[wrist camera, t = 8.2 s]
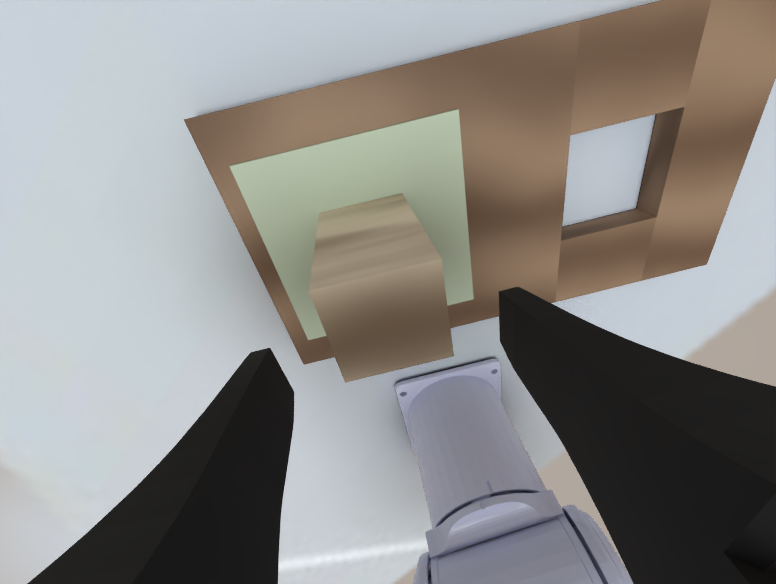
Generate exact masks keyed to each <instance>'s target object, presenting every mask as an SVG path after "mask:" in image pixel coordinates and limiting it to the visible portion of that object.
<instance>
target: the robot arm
mask: <svg viewBox="0 0 776 584" xmlns="http://www.w3.org/2000/svg"><path fill="white" fill-rule="evenodd" d="M499 322H500V342H501V344H502V346H503V348H504V350H505V352H506V354H507V357H508V359H509V360H510V362H511V364H512V366H513V368H514V370H515V371H516V373H517V375H518V376H519V378H520V379H521V381H522V382H523V384H524V385H525V387H526V388H527V390H528V391H529V393H530V394H531V396H532V397H533V399H534V400H535V402H536V403H537V405H538V406H539V408H540V409H541V411H542V412H543V414H544V415H545V417H546V418H547V420H548V421H549V423H550V424H551V426H552V427H553V429H554V430H555V432H556V433H557V435H558V437H559V438H560V440H561V442H562V443H563V445H564V447H565V449H566V450H567V452H568V454H569V456H570V458H571V460H572V462H573V463H574V465H575V467H576V469H577V471H578V472H579V474H580V476H581V478H582V480H583V482H584V484H585V486H586V488H587V490H588V492H589V494H590V496H591V497H592V500H593V502H594V503H595V505H596V507H597V509H598V511H599V513H600V515H601V517H602V519H603V521H604V523H605V525H606V527H607V529H608V531H609V533H610V535H611V538H612V540H613V542H614V544H615V546H616V548H617V550H618V552H619V554H620V556H621V558H622V560H623V562H624V564H625V567H626V569H627V570H626V569H625V567H624V565H623V563H622V562H621V560H620V558H619V557H618V555H617V553H616V552H615V550H614V548H613V547H612V545H611V544H610V542H609V541H608V539H607V537H606V536H605V534H604V533H603V532H602V530H601V529H600V527H599V526H598V524H597V523H596V522H595V521H594V519H593V518H592V517H591V516H590V515H588V514H587V513H585V512H583V511H581V510H579V509H578V508H577V507H575V506H574V505H567V506H564V507H562V509H561V506H560V505H559V503H558V501H557V499H556V497H555V495H554V493H553V491H552V490H546V488H545V486H544V484H543V482H542V480H541V478H540V476H539V474H538V472H537V470H536V468H535V467H534V465H533V463H532V461H531V459H530V457H529V455H528V453H527V451H526V449H525V447H524V445H523V443H522V441H521V439H520V437H519V436H518V434H517V432H516V430H515V428H514V426H513V424H512V422H511V420H510V418H509V416H508V414H507V412H506V410H505V408H504V407H503V405H502V400H501V365H500V362H499V361H498V360H497V359H489V360H485V361H481V362H477V363H473V364H469V365H465V366H461V367H457V368H453V369H449V370H445V371H441V372H437V373H433V374H429V375H425V376H421V377H417V378H413V379H409V380H405V381H401V382H398V383H397V384H396V385H395V390H396V394H397V397H398V401H399V404H400V407H401V411H402V414H403V418H404V421H405V424H406V428H407V431H408V435H409V438H410V442H411V445H412V448H413V452H414V454H415V455H416V456H417V458H418V463H419V468H420V472H421V477H422V481H423V486H424V491H425V495H426V500H427V505H428V509H429V514H430V519H431V523H432V528H433V529H432V530H429V531H427V532H426V538H427V544H428V549H429V552H426V553H424V554H422V555H421V556H420V558H419V561H418V565H417V569H416V571H415V574H414V580H413V584H776V387H775V386H771V385H767V384H763V383H759V382H756V381H752V380H748V379H744V378H741V377H737V376H733V375H730V374H727V373H723V372H720V371H717V370H713V369H710V368H707V367H704V366H701V365H697V364H694V363H691V362H688V361H685V360H682V359H679V358H676V357H673V356H670V355H667V354H664V353H662V352H659V351H656V350H654V349H651V348H648V347H645V346H643V345H640V344H637V343H635V342H632V341H630V340H628V339H625V338H623V337H620V336H618V335H616V334H614V333H611V332H609V331H607V330H604V329H602V328H600V327H598V326H595V325H593V324H591V323H589V322H587V321H585V320H583V319H581V318H579V317H577V316H575V315H573V314H571V313H569V312H567V311H565V310H563V309H561V308H559V307H557V306H555V305H553V304H551V303H549V302H547V301H545V300H544V299H542V298H540V297H538V296H536V295H534V294H532V293H530V292H528V291H526V290H524V289H522V288H520V287H514V288H510V289H506V290H502V291H499ZM493 369H494V370H493ZM293 423H294V391H293V389H292V387H291V385H290V384H289V382H288V380H287V378H286V376H285V374H284V373H283V371H282V369H281V367H280V365H279V363H278V362H277V360H276V358H275V356H274V354H273V352H272V351H271V349H270V348H267V349H263V350H259V351H255V352H251V353H250V354H249V355H248V356H247V358H246V359H245V360H244V361H243V362H242V364H241V365H240V366H239V368H238V369H237V370H236V371H235V373H234V374H233V375H232V377H231V378H230V379H229V381H228V382H227V383H226V384H225V386H224V387H223V388H222V390H221V391H220V392H219V393H218V395H217V396H216V397H215V399H214V400H213V401H212V402H211V404H210V405H209V406H208V408H207V409H206V410H205V411H204V412H203V414H202V415H201V416H200V417H199V418H198V420H197V421H196V422H195V423H194V424H193V425H192V427H191V428H190V429H189V430H188V431H187V433H186V434H185V435H184V436H183V437H182V438H181V440H180V441H179V442H178V443H177V444H176V445H175V447H174V448H173V449H172V450H171V451H170V452H169V453H168V454H167V455H166V456H165V458H164V459H163V460H162V461H161V462H160V463H159V464H158V465H157V466H156V467H155V468H154V469H153V470H152V471H151V472H150V473H149V474H148V475H147V476H146V477H145V478H144V479H143V481H142V482H141V483H140V484H139V485H138V486H137V487H136V488H135V489H134V490H133V491H131V492H130V493H129V494H128V495H127V496H126V497H125V498H124V499H123V500H122V501H121V502H120V503H119V504H118V505H117V506H115V507H114V508H113V509H112V510H111V511H110V512H109V513H108V514H107V515H106V516H105V517H104V518H103V519H102V520H101V521H99V522H98V523H97V524H96V525H95V526H94V527H93V528H92V529H91V530H90V531H89V532H88V533H86V534H85V535H84V536H83V537H82V538H81V539H80V540H78V541H77V542H76V543H75V544H74V545H73V546H72V547H70V548H69V549H68V550H67V551H66V552H65V553H64V554H62V555H61V556H60V557H59V558H58V559H57V560H55V561H54V562H53V563H52V564H51V565H49V566H48V567H47V568H46V569H45V570H43V571H42V572H41V573H40V574H39V575H37V576H36V577H35V578H34V579H33V580H32V581H30V582H29V583H28V584H278V556H279V536H280V518H281V507H282V498H283V492H284V485H285V478H286V472H287V465H288V458H289V452H290V445H291V438H292V431H293ZM627 571H628V572H627ZM628 573H629V574H628ZM629 575H630V576H629Z"/></svg>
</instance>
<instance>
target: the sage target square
mask: <svg viewBox="0 0 776 584" xmlns="http://www.w3.org/2000/svg"><path fill="white" fill-rule="evenodd" d="M229 167H230V169H231V171H232V173H233V176H234V178H235V180H236V182H237V184H238V187H239V189H240V191H241V193H242V195H243V198H244V200H245V202H246V204H247V206H248V209H249V211H250V213H251V215H252V217H253V220H254V222H255V224H256V226H257V228H258V231H259V233H260V235H261V237H262V239H263V242H264V244H265V246H266V248H267V250H268V253H269V255H270V257H271V259H272V261H273V264H274V266H275V268H276V270H277V272H278V275H279V277H280V279H281V281H282V284H283V286H284V288H285V290H286V292H287V295H288V297H289V299H290V301H291V303H292V306H293V308H294V310H295V312H296V314H297V317H298V319H299V321H300V323H301V325H302V328H303V330H304V332H305V334H306V336H307V339H308V340H312V339H316V338H320V337H324V336H326V333H325V331H324V328H323V326H322V323H321V321H320V318H319V316H318V313H317V311H316V308H315V306H314V303H313V301H312V298H311V296H310V293H309V285H310V278H311V270H312V263H313V255H314V248H315V241H316V233H317V226H318V219H319V213H321V212H325V211H329V210H333V209H338V208H342V207H346V206H350V205H354V204H358V203H362V202H366V201H370V200H375V199H379V198H383V197H387V196H391V195H395V194H399V193H402V194H403V195H404V197H405V199H406V200H407V202H408V204H409V205H410V207H411V209H412V210H413V212H414V214H415V215H416V217H417V219H418V220H419V222H420V224H421V225H422V227H423V229H424V230H425V232H426V234H427V235H428V237H429V239H430V240H431V242H432V244H433V246H434V247H435V249H436V251H437V252H438V254H439V256H440V257H441V259H442V267H443V275H444V283H445V291H446V299H447V306H448V305H452V304H456V303H460V302H464V301H468V300H473V299H474V296H473V284H472V271H471V258H470V246H469V233H468V220H467V208H466V195H465V182H464V170H463V157H462V144H461V132H460V119H459V109H454V110H450V111H446V112H442V113H438V114H434V115H430V116H426V117H422V118H418V119H414V120H410V121H406V122H402V123H398V124H394V125H390V126H386V127H382V128H378V129H374V130H370V131H366V132H362V133H358V134H354V135H350V136H346V137H342V138H338V139H334V140H330V141H326V142H322V143H318V144H313V145H309V146H305V147H301V148H297V149H293V150H289V151H285V152H281V153H277V154H273V155H269V156H265V157H261V158H257V159H253V160H249V161H245V162H241V163H237V164H233V165H231V166H229Z"/></svg>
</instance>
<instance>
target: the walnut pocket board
mask: <svg viewBox="0 0 776 584" xmlns="http://www.w3.org/2000/svg"><path fill="white" fill-rule="evenodd" d="M775 78H776V0H661V1H657V2H653V3H649V4H645V5H641V6H637V7H633V8H629V9H625V10H621V11H617V12H613V13H609V14H605V15H601V16H597V17H593V18H589V19H585V20H581V21H577V22H573V23H569V24H565V25H561V26H557V27H553V28H549V29H545V30H541V31H537V32H533V33H529V34H525V35H521V36H517V37H513V38H509V39H505V40H501V41H497V42H493V43H489V44H485V45H481V46H477V47H473V48H469V49H465V50H461V51H457V52H453V53H449V54H445V55H441V56H437V57H433V58H429V59H425V60H421V61H417V62H413V63H409V64H405V65H401V66H397V67H393V68H389V69H385V70H381V71H377V72H373V73H369V74H365V75H361V76H357V77H353V78H349V79H345V80H341V81H337V82H333V83H329V84H325V85H321V86H317V87H313V88H309V89H305V90H301V91H297V92H293V93H289V94H285V95H281V96H277V97H273V98H269V99H265V100H261V101H257V102H253V103H249V104H245V105H241V106H237V107H233V108H229V109H225V110H221V111H217V112H213V113H209V114H205V115H201V116H197V117H193V118H189V119H185V120H184V121H185V123H186V125H187V127H188V129H189V131H190V133H191V135H192V137H193V139H194V141H195V144H196V146H197V148H198V150H199V152H200V154H201V156H202V158H203V160H204V162H205V164H206V166H207V168H208V170H209V172H210V174H211V176H212V178H213V180H214V182H215V184H216V186H217V188H218V190H219V192H220V195H221V197H222V199H223V201H224V203H225V205H226V207H227V209H228V211H229V213H230V215H231V217H232V219H233V221H234V223H235V225H236V227H237V229H238V231H239V233H240V235H241V237H242V239H243V241H244V244H245V246H246V248H247V250H248V252H249V254H250V256H251V258H252V260H253V262H254V264H255V266H256V268H257V270H258V272H259V274H260V276H261V278H262V280H263V282H264V284H265V286H266V288H267V290H268V292H269V295H270V297H271V299H272V301H273V303H274V305H275V307H276V309H277V311H278V313H279V315H280V317H281V319H282V321H283V323H284V325H285V327H286V329H287V331H288V333H289V335H290V337H291V339H292V341H293V343H294V346H295V348H296V350H297V352H298V354H299V356H300V358H301V360H302V362H303V364H308V363H312V362H316V361H320V360H324V359H328V358H332V357H335V356H334V353H333V351H332V348H331V346H330V343H329V341H328V338H327V336H324V337H320V338H316V339H312V340H308V339H307V336H306V334H305V332H304V330H303V328H302V325H301V323H300V321H299V319H298V317H297V314H296V312H295V310H294V308H293V306H292V303H291V301H290V299H289V297H288V295H287V292H286V290H285V288H284V286H283V284H282V281H281V279H280V277H279V275H278V272H277V270H276V268H275V266H274V264H273V261H272V259H271V257H270V255H269V253H268V250H267V248H266V246H265V244H264V242H263V239H262V237H261V235H260V233H259V231H258V228H257V226H256V224H255V222H254V220H253V217H252V215H251V213H250V211H249V209H248V206H247V204H246V202H245V200H244V198H243V195H242V193H241V191H240V189H239V187H238V184H237V182H236V180H235V178H234V176H233V173H232V171H231V169H230V167H229V166H231V165H233V164H237V163H241V162H245V161H249V160H253V159H257V158H261V157H265V156H269V155H273V154H277V153H281V152H285V151H289V150H293V149H297V148H301V147H305V146H309V145H313V144H318V143H322V142H326V141H330V140H334V139H338V138H342V137H346V136H350V135H354V134H358V133H362V132H366V131H370V130H374V129H378V128H382V127H386V126H390V125H394V124H398V123H402V122H406V121H410V120H414V119H418V118H422V117H426V116H430V115H434V114H438V113H442V112H446V111H450V110H454V109H459V119H460V132H461V144H462V157H463V170H464V182H465V195H466V208H467V220H468V233H469V246H470V258H471V271H472V284H473V296H474V299H473V300H468V301H464V302H460V303H456V304H452V305H448V314H449V322H450V328H453V327H457V326H461V325H465V324H469V323H473V322H477V321H481V320H485V319H489V318H493V317H497V316H499V291H502V290H506V289H510V288H514V287H520V288H522V289H524V290H526V291H528V292H530V293H532V294H534V295H536V296H538V297H540V298H542V299H544V300H545V301H547V302H549V303H553V302H558V301H562V300H566V299H570V298H574V297H578V296H582V295H586V294H590V293H594V292H598V291H602V290H606V289H610V288H614V287H618V286H622V285H626V284H630V283H634V282H638V281H642V280H646V279H650V278H654V277H658V276H662V275H666V274H670V273H674V272H678V271H682V270H686V269H690V268H694V267H698V266H702V265H706V264H707V262H708V260H709V257H710V254H711V252H712V249H713V246H714V243H715V241H716V238H717V235H718V233H719V230H720V227H721V225H722V222H723V219H724V216H725V214H726V211H727V208H728V206H729V203H730V200H731V197H732V195H733V192H734V189H735V187H736V184H737V181H738V179H739V176H740V173H741V170H742V168H743V165H744V162H745V160H746V157H747V154H748V151H749V149H750V146H751V143H752V141H753V138H754V135H755V132H756V130H757V127H758V124H759V122H760V119H761V116H762V114H763V111H764V108H765V105H766V103H767V100H768V97H769V95H770V92H771V89H772V86H773V84H774V81H775ZM653 114H656V119H655V124H654V128H653V133H652V138H651V142H650V147H649V152H648V156H647V161H646V166H645V170H644V175H643V180H642V185H641V189H640V194H639V199H638V203H637V208H636V209H633V210H629V211H625V212H621V213H617V214H613V215H609V216H605V217H601V218H597V219H593V220H589V221H585V222H581V223H577V224H573V225H569V226H565V227H562V222H563V211H564V199H565V188H566V176H567V165H568V154H569V142H570V135H573V134H577V133H581V132H585V131H589V130H593V129H597V128H601V127H605V126H609V125H613V124H617V123H621V122H625V121H629V120H633V119H637V118H641V117H645V116H649V115H653Z"/></svg>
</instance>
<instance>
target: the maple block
mask: <svg viewBox="0 0 776 584" xmlns="http://www.w3.org/2000/svg"><path fill="white" fill-rule="evenodd" d="M309 293H310V296H311V298H312V301H313V303H314V306H315V308H316V311H317V313H318V316H319V318H320V321H321V323H322V326H323V328H324V331H325V333H326V336H327V338H328V341H329V343H330V346H331V348H332V351H333V353H334V356H335V358H336V361H337V363H338V366H339V368H340V371H341V373H342V376H343V378H344V381H345V382H349V381H353V380H358V379H362V378H366V377H370V376H374V375H378V374H382V373H386V372H390V371H394V370H399V369H403V368H407V367H411V366H415V365H419V364H423V363H427V362H431V361H435V360H440V359H444V358H448V357H452V356H454V354H453V346H452V338H451V330H450V322H449V314H448V306H447V299H446V291H445V283H444V275H443V267H442V259H441V257H440V256H439V254H438V252H437V251H436V249H435V247H434V246H433V244H432V242H431V240H430V239H429V237H428V235H427V234H426V232H425V230H424V229H423V227H422V225H421V224H420V222H419V220H418V219H417V217H416V215H415V214H414V212H413V210H412V209H411V207H410V205H409V204H408V202H407V200H406V199H405V197H404V195H403V194H402V193H399V194H395V195H391V196H387V197H383V198H379V199H375V200H370V201H366V202H362V203H358V204H354V205H350V206H346V207H342V208H338V209H333V210H329V211H325V212H321V213H319V219H318V226H317V233H316V241H315V248H314V255H313V263H312V270H311V278H310V285H309Z"/></svg>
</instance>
